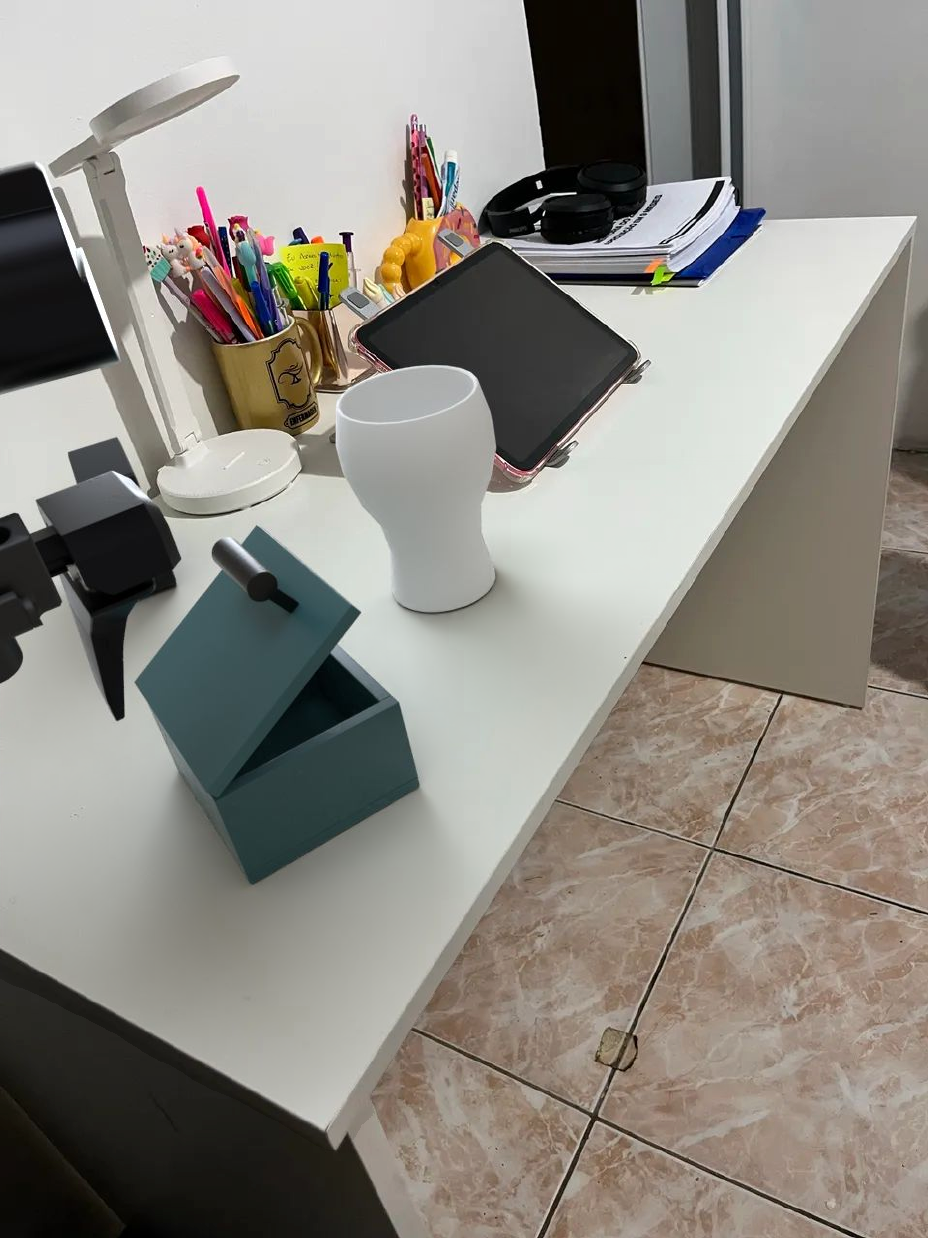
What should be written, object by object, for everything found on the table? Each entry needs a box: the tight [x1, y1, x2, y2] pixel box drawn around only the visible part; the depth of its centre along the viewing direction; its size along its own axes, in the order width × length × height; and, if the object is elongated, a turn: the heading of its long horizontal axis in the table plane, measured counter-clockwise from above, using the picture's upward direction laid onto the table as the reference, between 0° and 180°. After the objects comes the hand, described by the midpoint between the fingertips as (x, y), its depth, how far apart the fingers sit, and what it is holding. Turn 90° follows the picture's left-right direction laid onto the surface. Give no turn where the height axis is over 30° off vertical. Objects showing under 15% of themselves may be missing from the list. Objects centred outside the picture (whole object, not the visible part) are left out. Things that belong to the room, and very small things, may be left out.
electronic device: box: [67, 436, 177, 593], centre depth 77 cm, size 4×10×10 cm, turn 26°
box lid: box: [134, 524, 362, 797], centre depth 49 cm, size 11×12×4 cm
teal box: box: [147, 643, 421, 885], centre depth 54 cm, size 11×12×6 cm
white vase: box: [335, 364, 497, 613], centre depth 66 cm, size 11×11×15 cm
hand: (17, 764), depth 42 cm, fingers open, 9 cm apart
